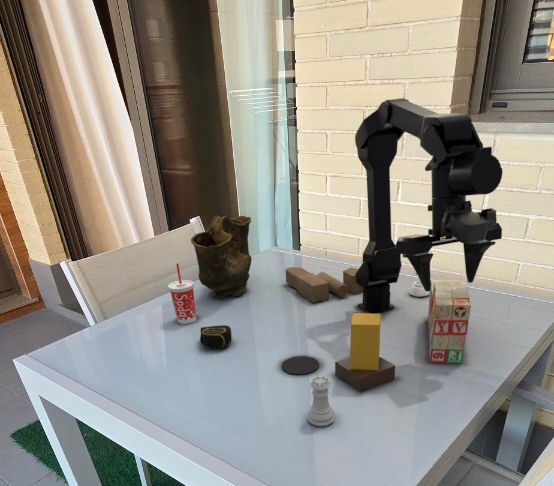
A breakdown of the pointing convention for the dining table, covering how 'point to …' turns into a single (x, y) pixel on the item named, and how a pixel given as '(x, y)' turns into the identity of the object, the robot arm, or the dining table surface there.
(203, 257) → the pottery vessel
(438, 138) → the robot arm
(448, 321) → the stack of blocks
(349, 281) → the wooden block set
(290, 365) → the rubber mat
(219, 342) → the tape measure
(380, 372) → the walnut block
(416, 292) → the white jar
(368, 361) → the ochre block
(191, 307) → the beverage cup
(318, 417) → the rook chess piece
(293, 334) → the dining table surface
